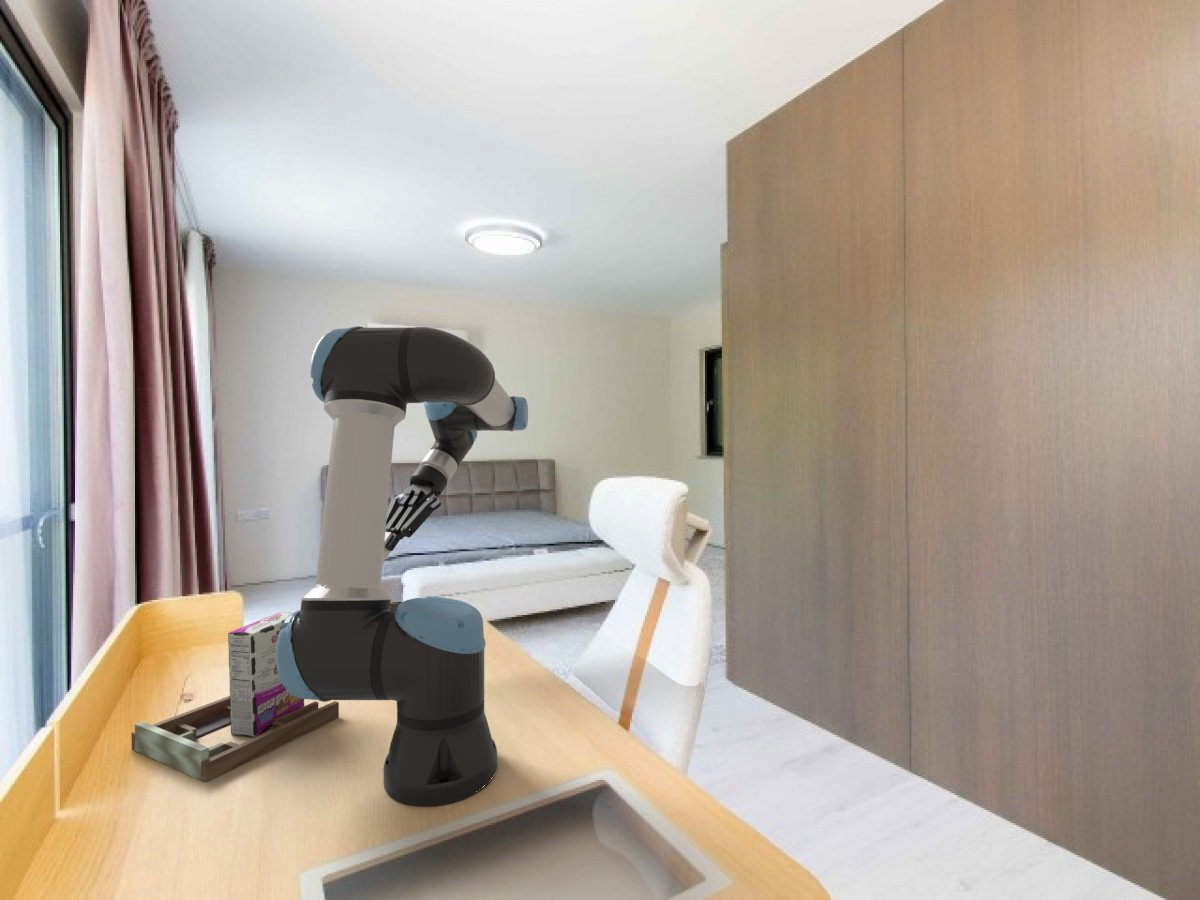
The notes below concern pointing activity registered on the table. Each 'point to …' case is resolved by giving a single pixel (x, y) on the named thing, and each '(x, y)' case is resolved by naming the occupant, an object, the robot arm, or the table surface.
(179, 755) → the grey-brown low tray piece
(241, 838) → the table surface
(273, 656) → the candy bar box
